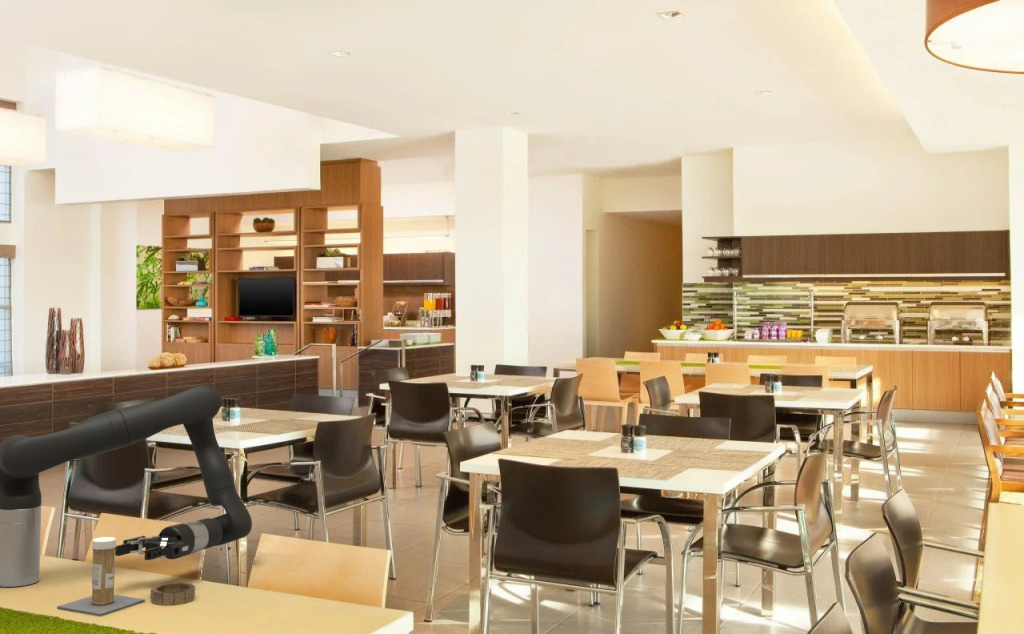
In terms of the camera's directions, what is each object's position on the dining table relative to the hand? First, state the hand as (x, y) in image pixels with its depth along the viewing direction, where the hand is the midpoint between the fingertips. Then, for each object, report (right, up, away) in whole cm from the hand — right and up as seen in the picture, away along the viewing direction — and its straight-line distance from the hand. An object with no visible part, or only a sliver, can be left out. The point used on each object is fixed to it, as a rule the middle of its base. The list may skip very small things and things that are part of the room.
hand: (130, 553), depth 211 cm
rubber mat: (-3, -9, -7) cm, 12 cm away
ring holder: (+10, -9, -2) cm, 14 cm away
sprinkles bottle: (-3, -9, -7) cm, 12 cm away
